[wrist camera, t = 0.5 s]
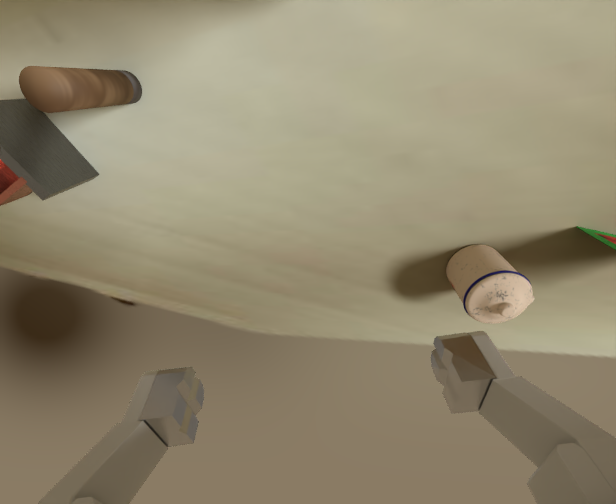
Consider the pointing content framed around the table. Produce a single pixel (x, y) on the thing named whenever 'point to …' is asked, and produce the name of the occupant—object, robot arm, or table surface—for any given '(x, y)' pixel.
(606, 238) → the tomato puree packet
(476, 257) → the teacup with lid
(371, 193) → the table surface
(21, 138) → the drawer
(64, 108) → the brown cylinder
